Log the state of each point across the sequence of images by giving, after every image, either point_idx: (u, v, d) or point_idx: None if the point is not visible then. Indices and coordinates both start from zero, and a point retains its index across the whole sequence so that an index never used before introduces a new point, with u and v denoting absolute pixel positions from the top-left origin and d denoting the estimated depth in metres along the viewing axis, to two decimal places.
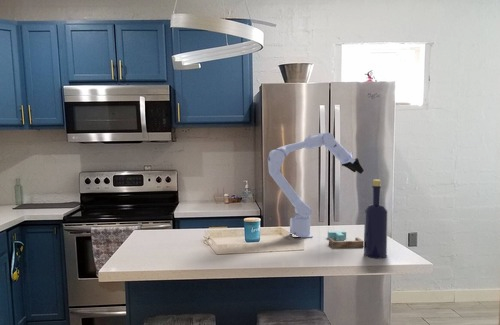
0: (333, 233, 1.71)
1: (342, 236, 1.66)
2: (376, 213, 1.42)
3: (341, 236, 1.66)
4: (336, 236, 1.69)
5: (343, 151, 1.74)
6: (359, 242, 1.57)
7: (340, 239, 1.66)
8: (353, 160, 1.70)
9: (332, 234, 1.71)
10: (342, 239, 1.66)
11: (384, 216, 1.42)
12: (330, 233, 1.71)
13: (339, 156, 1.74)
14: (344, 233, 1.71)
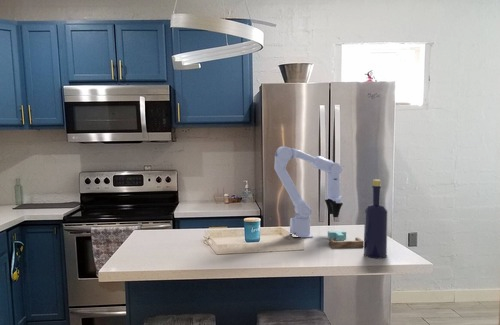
0: (333, 233, 1.71)
1: (342, 236, 1.66)
2: (376, 213, 1.42)
3: (341, 236, 1.66)
4: (336, 236, 1.69)
5: (337, 189, 1.74)
6: (359, 242, 1.57)
7: (340, 239, 1.66)
8: (338, 201, 1.70)
9: (332, 234, 1.71)
10: (342, 239, 1.66)
11: (384, 216, 1.42)
12: (330, 233, 1.71)
13: (331, 190, 1.75)
14: (344, 233, 1.71)
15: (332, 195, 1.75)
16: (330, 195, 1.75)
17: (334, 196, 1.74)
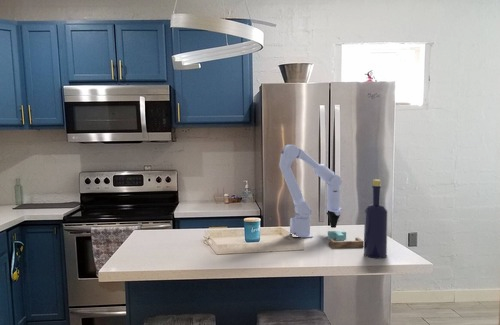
0: (333, 233, 1.71)
1: (342, 236, 1.66)
2: (376, 213, 1.42)
3: (341, 236, 1.66)
4: (336, 236, 1.69)
5: (337, 201, 1.75)
6: (359, 242, 1.57)
7: (340, 239, 1.66)
8: (338, 213, 1.70)
9: (332, 234, 1.71)
10: (342, 239, 1.66)
11: (384, 216, 1.42)
12: (330, 233, 1.71)
13: (330, 202, 1.75)
14: (344, 233, 1.71)
15: (332, 207, 1.75)
16: (330, 207, 1.75)
17: (334, 208, 1.75)
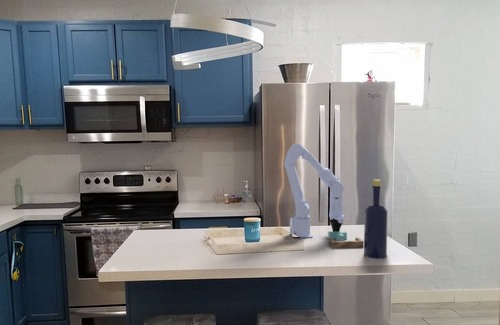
0: (334, 233, 1.70)
1: (342, 236, 1.65)
2: (376, 213, 1.42)
3: (341, 236, 1.65)
4: (336, 236, 1.68)
5: (340, 208, 1.71)
6: (359, 242, 1.57)
7: (340, 239, 1.65)
8: (341, 221, 1.66)
9: (332, 234, 1.70)
10: (342, 239, 1.65)
11: (384, 216, 1.42)
12: (330, 233, 1.70)
13: (333, 209, 1.71)
14: (345, 233, 1.71)
15: (335, 214, 1.71)
16: (333, 214, 1.71)
17: (337, 215, 1.71)
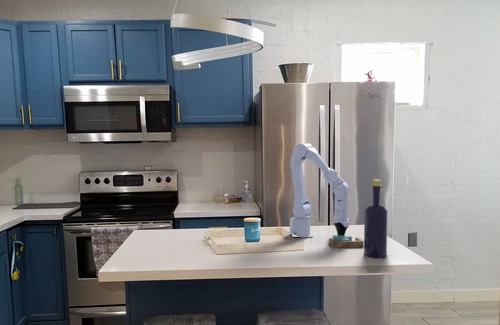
0: (338, 237, 1.63)
1: None
2: (376, 213, 1.42)
3: None
4: None
5: (345, 211, 1.64)
6: (359, 242, 1.57)
7: None
8: (347, 225, 1.59)
9: (337, 238, 1.63)
10: None
11: (384, 216, 1.42)
12: (335, 237, 1.63)
13: (338, 212, 1.64)
14: (350, 238, 1.63)
15: (340, 218, 1.64)
16: (338, 218, 1.64)
17: (342, 219, 1.64)
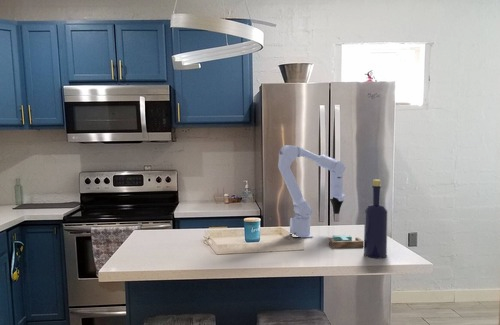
0: (338, 237, 1.63)
1: None
2: (376, 213, 1.42)
3: None
4: None
5: (340, 187, 1.76)
6: (359, 242, 1.57)
7: None
8: (341, 199, 1.72)
9: (337, 238, 1.63)
10: None
11: (384, 216, 1.42)
12: (335, 237, 1.63)
13: (334, 188, 1.77)
14: (349, 238, 1.63)
15: (335, 193, 1.77)
16: (333, 193, 1.77)
17: (337, 194, 1.76)
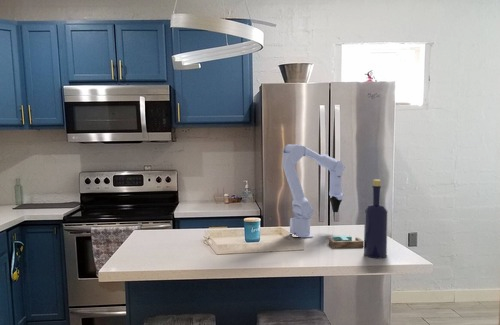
0: (338, 237, 1.63)
1: None
2: (376, 213, 1.42)
3: None
4: None
5: (339, 186, 1.81)
6: (359, 242, 1.57)
7: None
8: (340, 198, 1.76)
9: (337, 238, 1.63)
10: None
11: (384, 216, 1.42)
12: (335, 237, 1.63)
13: (333, 187, 1.81)
14: (349, 238, 1.63)
15: (334, 192, 1.81)
16: (332, 192, 1.81)
17: (336, 193, 1.81)
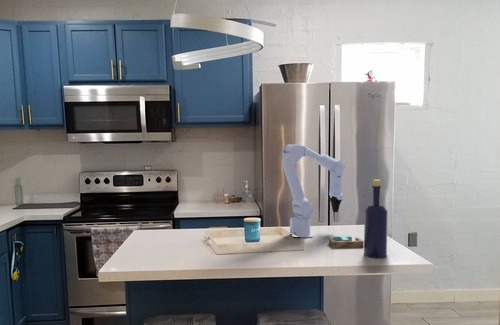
0: (338, 237, 1.63)
1: None
2: (376, 213, 1.42)
3: None
4: None
5: (339, 186, 1.81)
6: (359, 242, 1.57)
7: None
8: (340, 198, 1.76)
9: (337, 238, 1.63)
10: None
11: (384, 216, 1.42)
12: (335, 237, 1.63)
13: (333, 187, 1.81)
14: (349, 238, 1.63)
15: (334, 192, 1.81)
16: (332, 192, 1.81)
17: (336, 193, 1.81)
